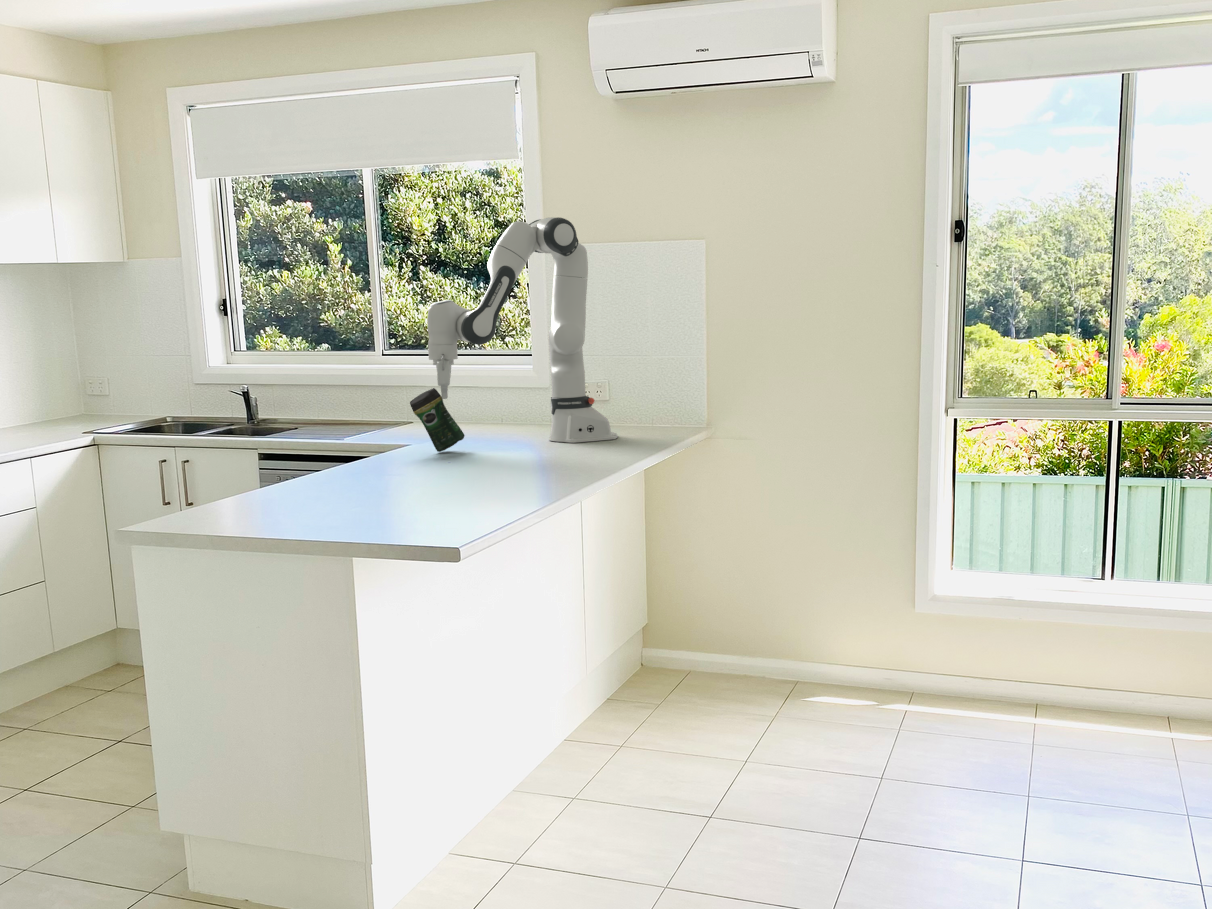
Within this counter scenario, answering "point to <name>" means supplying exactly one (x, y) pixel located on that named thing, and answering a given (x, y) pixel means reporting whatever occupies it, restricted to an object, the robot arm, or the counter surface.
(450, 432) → the coffee jar
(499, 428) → the counter surface
